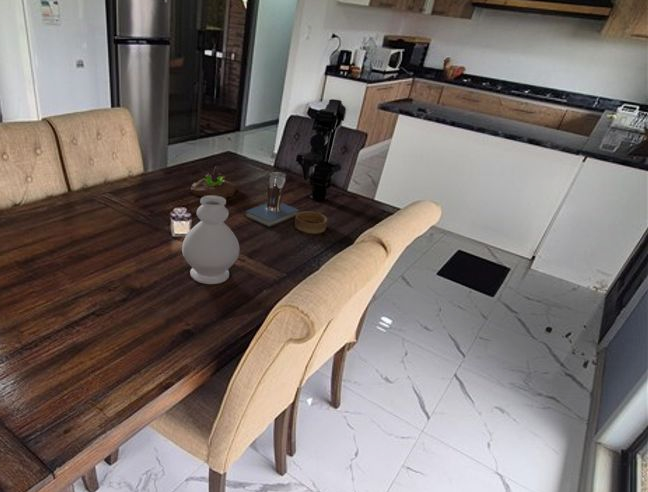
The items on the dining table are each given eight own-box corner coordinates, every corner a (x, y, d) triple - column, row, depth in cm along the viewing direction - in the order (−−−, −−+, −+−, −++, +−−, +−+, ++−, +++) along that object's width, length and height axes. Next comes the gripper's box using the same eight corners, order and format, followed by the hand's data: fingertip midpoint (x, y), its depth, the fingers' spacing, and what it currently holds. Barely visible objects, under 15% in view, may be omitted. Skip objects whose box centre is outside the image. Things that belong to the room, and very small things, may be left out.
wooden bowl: (288, 222, 185) (290, 213, 183) (314, 218, 190) (315, 209, 187) (305, 235, 176) (307, 225, 173) (331, 231, 181) (333, 221, 178)
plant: (242, 188, 214) (244, 165, 208) (225, 202, 199) (226, 176, 193) (204, 180, 220) (205, 157, 214) (184, 192, 205) (185, 168, 199)
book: (274, 205, 199) (275, 200, 198) (298, 215, 192) (299, 209, 190) (245, 216, 187) (245, 210, 186) (269, 227, 180) (270, 221, 179)
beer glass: (284, 210, 189) (289, 174, 181) (276, 215, 184) (280, 178, 176) (270, 205, 192) (274, 170, 184) (261, 210, 187) (265, 174, 179)
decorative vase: (195, 293, 137) (197, 216, 123) (173, 266, 150) (173, 193, 136) (247, 282, 144) (254, 207, 130) (222, 256, 157) (226, 186, 143)
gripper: (290, 141, 181) (284, 180, 189) (329, 152, 170) (321, 193, 179) (306, 138, 188) (300, 176, 196) (345, 148, 177) (337, 188, 186)
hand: (314, 183), depth 189 cm, fingers open, 9 cm apart
